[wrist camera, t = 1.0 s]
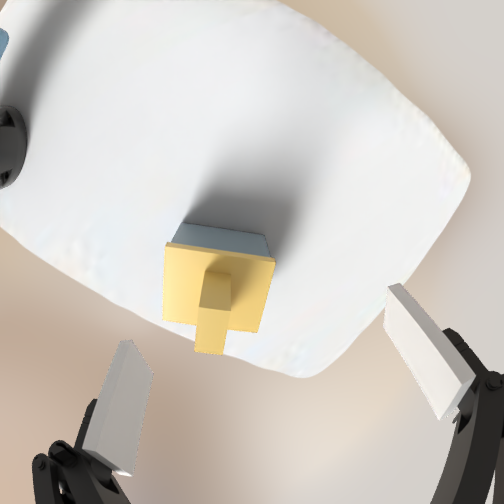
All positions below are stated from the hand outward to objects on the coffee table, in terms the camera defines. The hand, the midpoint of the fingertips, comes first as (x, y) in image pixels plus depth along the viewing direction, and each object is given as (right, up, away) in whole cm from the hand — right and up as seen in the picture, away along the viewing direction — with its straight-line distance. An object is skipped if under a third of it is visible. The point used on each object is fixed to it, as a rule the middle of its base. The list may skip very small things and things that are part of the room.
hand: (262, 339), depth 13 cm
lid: (-5, 0, +21) cm, 21 cm away
